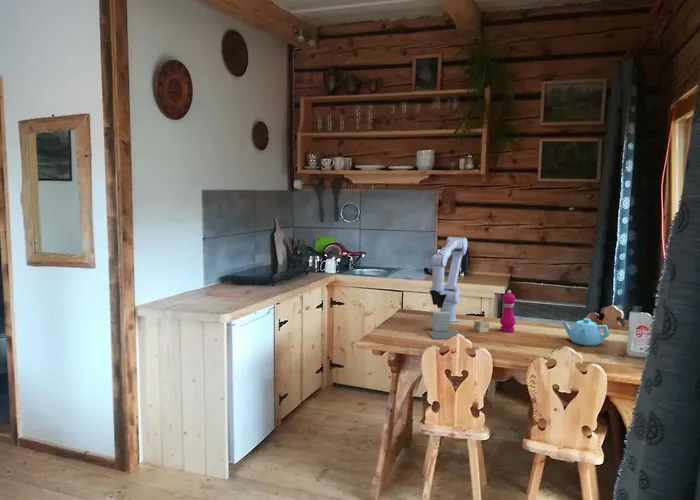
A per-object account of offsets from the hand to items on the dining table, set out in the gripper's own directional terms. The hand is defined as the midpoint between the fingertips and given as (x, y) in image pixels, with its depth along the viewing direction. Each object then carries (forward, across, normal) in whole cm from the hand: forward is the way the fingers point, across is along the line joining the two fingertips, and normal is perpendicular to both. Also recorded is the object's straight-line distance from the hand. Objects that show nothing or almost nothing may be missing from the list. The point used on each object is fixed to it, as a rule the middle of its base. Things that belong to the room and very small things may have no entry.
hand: (437, 306), depth 271 cm
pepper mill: (+11, +11, +32) cm, 35 cm away
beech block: (+10, +10, +19) cm, 24 cm away
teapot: (+11, +33, +59) cm, 68 cm away
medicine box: (+11, +6, 0) cm, 12 cm away
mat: (+10, +16, 0) cm, 19 cm away
